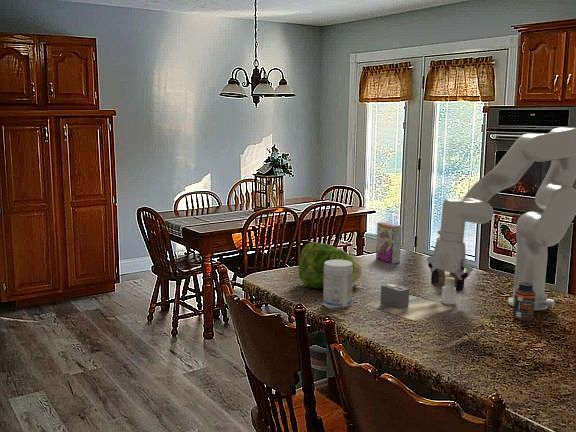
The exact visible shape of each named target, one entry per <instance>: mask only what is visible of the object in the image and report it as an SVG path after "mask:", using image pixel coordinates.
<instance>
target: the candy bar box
mask: <svg viewBox="0 0 576 432" xmlns="http://www.w3.org/2000/svg"><path fill="white" fill-rule="evenodd" d="M402 227H403V226H401V225H398V224H394V223H390V222H386V221H382V222H381V221H380V222H377V226H376V247H375V249H376V250H375V251H376V252H375V259H377V260H380V261H383V262H386V263H388V264H390V265H391V264H392V265H395V264H399V263H401V250H402V249H401V247H402V246H401V245H402V229H403V228H402Z"/></svg>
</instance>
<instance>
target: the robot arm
mask: <svg viewBox="0 0 576 432" xmlns="http://www.w3.org/2000/svg"><path fill="white" fill-rule="evenodd" d="M549 161H551V162H550V166H549V168H548V171H547V173H546V174H545V177H544V179H543V180H542V182H541V184H540V186H539V188H538V189H537V191H536V192H535V193H536V194H535V197H534V202H535V204H536V206H537V207H538V208H539V209H541V210H543V211H542V213H541V212H539V211H538V212H537V211H527V212H525V213H523V214H521V215H520V216H519V218H518V219H517V222H516V225H515V233H516V234H515V235H516V255H515V256H516V257H515V267H514V280H513V292H512V296H511V297H509V298H508V299H507V304H508V305H510V306H511V307H513V308H514V297H515V291H516V289H518V288H519V283H520V282H527V283H531V284H533V289H532V290H533V291H534V292H535V304H534V311H538V312H539V311H545V310H547V309H548V308H550V307H551V308H554V307H555V306H556V303H555V300H554V299H549V298H548V294H547V293H545V290H546V288H545V287H546V277H547V266H548V254H549V253H548V248H549V247H554V246H555V245H557V244H558V243H559V242H561V240H562V239H563V238H564V236H565V235H566V233H567V230H568V229H569V228H570V226H571V224H572V222H573V220H574V218H575V216H576V189H575V188H574V187H573V185H574V183H575V181H576V127H564V126H563V127H561V126H560V127H556V128H552V129H551V130H550V131H549V132H547V133H526V134H522V135H520V136H519V137H518V138H517V139H516V140H515V141H514V143H513V144H512V145H511V147H510V148H509V149H508V150H507V151H506V153H505V154H504V155H503V156H502V157H501V159H500V160H499V161H498V163H497V164H496V165H495V166H494V167H493V168H492V169H491V170H490V171H488V173H486V174H485V175H484V176H483V177H481V178H480V179H479V180H478V181H476V183H474V184H473V186H471V187H470V188H469V190H468V191H467V193H466V194H465V195H464V196H463V198H462V199H461V198H453V197H452V198H445V199H444V200H443V202H442V212H441V221H440V230H439V229H438V231H437V235H439V237H440V238H439V239H437V238H436V242H435V245H434V250H433V255H430V256H428V257H426V262H427V265H428V268H429V269H430V272H431V278H430V281H431V282H430V284H431V285H435V284H436V283H438V281H439V272H438V270H443V271H445V272H448V273H449V274H450V273H456V275H457V277H458V279H457V282H456V285H455V288H456V293H457V292H462V291H464V289H465V280H466V279H467V278H469V276H471V273H472V272H473V270H474V268H473V267H472V266H471V265H470V264H469V263H468V262H466V259H467V258H466V252H467V251H466V242H464V239H465V237H464V236H465V228H466V227H465V226H466V223H471V224H479V225H483V224H487V223H489V222H490V221H491V220H492V219H493V216H494V209H493V206H492V205H491V204H490V203H489V200H490V199H492V198H493V196H494V195H496V194H498V193H499V192H501V191H503V190H506V189H510V188H511V187H513V186H515V185H516V184H518V182H519V181H520V180H521V179H522V177H523V176H524V175H525V173H527V171H528V170H529V169H530V167H531V166H532V165H533V164H534V162H536V163H537V162H540V163H541V162H542V163H543V162H549ZM465 270H466V271H465ZM464 271H465V272H464Z"/></svg>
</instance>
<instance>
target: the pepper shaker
mask: <svg viewBox="0 0 576 432" xmlns="http://www.w3.org/2000/svg"><path fill="white" fill-rule="evenodd" d="M454 284H455V278H453V277H445V285H442V287H441V299H440V302H442V303H443V305H456V304H457V303H456V302H457V291H456V286H455V285H454Z"/></svg>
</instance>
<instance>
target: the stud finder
mask: <svg viewBox="0 0 576 432" xmlns="http://www.w3.org/2000/svg"><path fill="white" fill-rule="evenodd" d="M409 295H410V288H407V287H405V286H400V285H398V284H394V283H392V282H390V283H385V284H382V285H380V300H381V301H380V300H379V301H380V303H382V304H385V305H388V306H391V307H394V308H397V309H402V308H406V307H408V306H409Z"/></svg>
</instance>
